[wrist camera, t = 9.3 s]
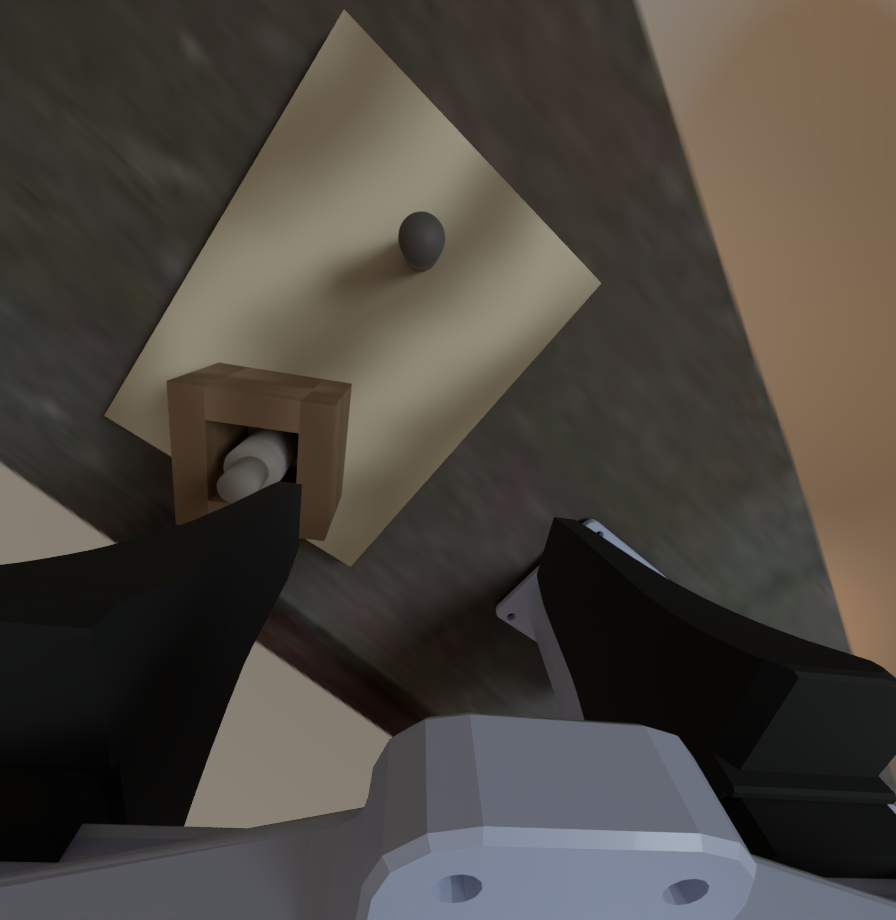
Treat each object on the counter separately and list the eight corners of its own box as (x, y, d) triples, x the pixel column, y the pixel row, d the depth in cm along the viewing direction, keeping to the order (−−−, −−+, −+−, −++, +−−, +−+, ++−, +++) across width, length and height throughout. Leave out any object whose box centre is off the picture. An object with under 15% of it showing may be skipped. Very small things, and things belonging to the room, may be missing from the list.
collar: (351, 383, 19) (335, 406, 15) (341, 496, 21) (324, 541, 17) (218, 362, 18) (166, 380, 14) (221, 481, 20) (175, 524, 16)
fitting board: (592, 283, 19) (675, 279, 13) (353, 555, 23) (329, 649, 17) (348, 27, 15) (301, -154, 9) (119, 409, 19) (-17, 462, 13)
